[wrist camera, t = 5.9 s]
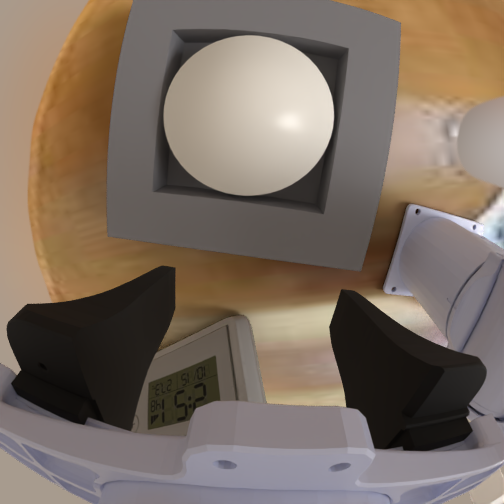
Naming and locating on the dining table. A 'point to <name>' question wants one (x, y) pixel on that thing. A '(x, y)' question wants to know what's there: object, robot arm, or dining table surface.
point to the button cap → (248, 115)
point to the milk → (489, 490)
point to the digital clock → (199, 377)
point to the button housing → (266, 205)
